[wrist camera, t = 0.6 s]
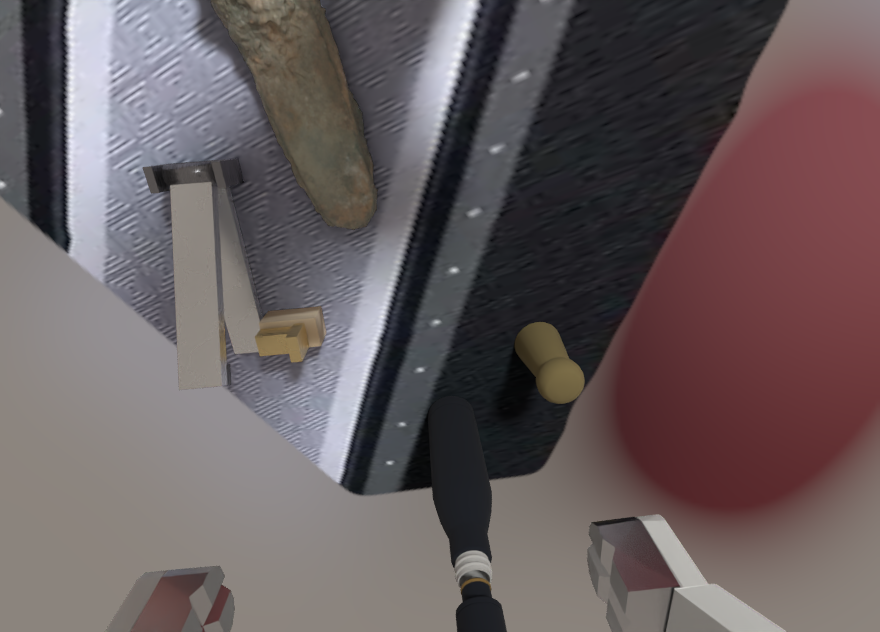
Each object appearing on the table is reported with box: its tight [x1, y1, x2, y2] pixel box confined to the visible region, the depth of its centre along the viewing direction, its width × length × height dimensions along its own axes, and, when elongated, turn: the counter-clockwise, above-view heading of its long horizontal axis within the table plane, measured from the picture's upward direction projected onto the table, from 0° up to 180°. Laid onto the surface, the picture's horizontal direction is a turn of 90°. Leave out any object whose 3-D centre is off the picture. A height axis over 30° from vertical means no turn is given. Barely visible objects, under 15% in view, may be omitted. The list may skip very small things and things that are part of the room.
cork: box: [515, 322, 585, 404], centre depth 51 cm, size 6×6×11 cm
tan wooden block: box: [259, 306, 326, 347], centre depth 51 cm, size 4×6×4 cm, turn 94°
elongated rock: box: [211, 0, 378, 230], centre depth 41 cm, size 35×5×10 cm
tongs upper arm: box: [162, 161, 231, 390], centre depth 42 cm, size 22×5×2 cm, turn 3°
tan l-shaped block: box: [255, 323, 309, 363], centre depth 48 cm, size 3×5×4 cm, turn 94°
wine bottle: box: [428, 396, 507, 632], centre depth 46 cm, size 6×6×30 cm
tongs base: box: [143, 158, 263, 354], centre depth 47 cm, size 22×7×5 cm, turn 4°
